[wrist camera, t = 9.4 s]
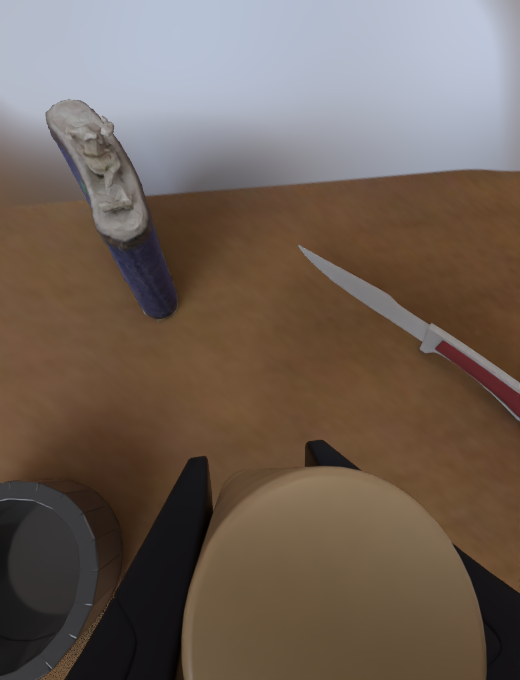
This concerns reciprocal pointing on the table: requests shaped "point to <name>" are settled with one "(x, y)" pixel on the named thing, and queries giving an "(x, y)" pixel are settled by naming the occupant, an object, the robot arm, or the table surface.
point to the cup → (52, 571)
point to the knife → (427, 335)
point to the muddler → (328, 585)
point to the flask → (115, 202)
